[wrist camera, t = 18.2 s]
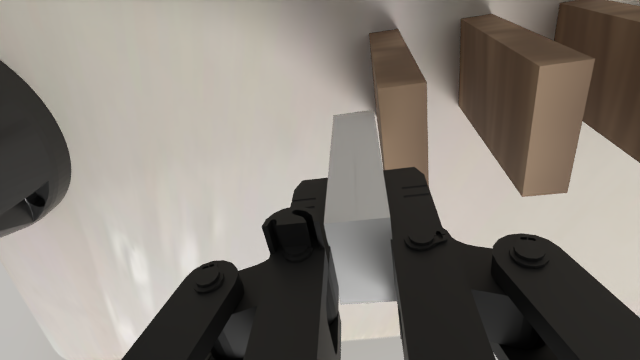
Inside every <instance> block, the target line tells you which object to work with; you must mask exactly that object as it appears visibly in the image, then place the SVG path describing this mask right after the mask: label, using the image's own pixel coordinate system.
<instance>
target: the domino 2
mask: <svg viewBox="0 0 640 360" xmlns="http://www.w3.org/2000/svg"><path fill="white" fill-rule="evenodd" d="M594 62H595V58H592V57H590V56H588V55H585V54H583V53H581V52H578V51H576V50H574V49H572V48H569V47H567V46H565V45H562V44H560V43H558V42H555V41H553V40H551V39H549V38H546V37H544V36H542V35H539V34H537V33H535V32H532V31H530V30H528V29H526V28H523V27H521V26H519V25H516V24H514V23H512V22H509V21H507V20H505V19H502V18H500V17H498V16H496V15H493V14H488V15H482V16H475V17H469V18H463V19H461V36H460V73H459V107H460V108H461V110H462V111H463V113H464V114H465V115H466V117H467V118H468V120H469V121H470V123H471V124H472V126H473V127H474V128H475V130H476V131H477V133H478V134H479V136H480V137H481V138H482V140H483V141H484V143H485V144H486V146H487V147H488V148H489V150H490V151H491V153H492V154H493V156H494V157H495V158H496V160H497V161H498V163H499V164H500V166H501V167H502V169H503V170H504V171H505V173H506V174H507V176H508V177H509V179H510V180H511V181H512V183H513V184H514V186H515V187H516V189H517V190H518V191H519V193H520V194H521V196H522V197H525V196H536V195H547V194H558V193H567V191H568V187H569V182H570V177H571V172H572V168H573V163H574V158H575V153H576V148H577V144H578V139H579V134H580V129H581V124H582V120H583V115H584V110H585V105H586V100H587V96H588V91H589V86H590V81H591V76H592V72H593V67H594Z"/></svg>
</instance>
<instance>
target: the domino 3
mask: <svg viewBox="0 0 640 360" xmlns="http://www.w3.org/2000/svg"><path fill="white" fill-rule="evenodd" d="M554 41H555V42H558V43H560V44H562V45H565V46H567V47H569V48H572V49H574V50H576V51H578V52H581V53H583V54H585V55H588V56H590V57H592V58H595V62H594V67H593V72H592V76H591V81H590V86H589V91H588V96H587V100H586V105H585V110H584V115H583V120H582V121H583V122H584V123H586V124H587V125H589V126H590V127H591V128H593V129H594V130H595V131H597V132H598V133H600V134H601V135H602V136H604V137H605V138H606V139H608V140H609V141H611V142H612V143H613V144H615V145H616V146H617V147H619V148H620V149H622V150H623V151H624V152H626V153H627V154H628V155H630V156H631V157H633V158H634V159H635V160H637V161H638V162H639V163H640V6H636V5H630V4H625V3H620V2H614V1H609V0H575V1H569V2H563V3H560V5H559V12H558V18H557V25H556V32H555V38H554Z"/></svg>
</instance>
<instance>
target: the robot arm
mask: <svg viewBox="0 0 640 360" xmlns="http://www.w3.org/2000/svg"><path fill="white" fill-rule="evenodd" d="M70 179H71V162H70V156H69V151H68V148H67V144H66V142H65V139H64V136H63V134H62V132H61V130H60V128H59V126H58V124H57V122H56V121H55V119H54V117H53V116H52V114H51V112H50V111H49V110H48V108H47V107H46V105H45V104H44V103H43V101H42V100H41V99H40V98H39V96H38V95H37V94H36V93H35V92H34V91H33V90H32V88H31V87H30V86H29V85H28V84H27V83H26V82H25V81H24V80H23V79H22V78H21V77H20V76H18V75H17V74H16V73H15V72H14V71H13V70H12V69H10V68H9V67H8V66H7V65H6V64H4V63H3V62H2V61H0V238H1V237H3V236H6V235H8V234H11V233H13V232H16V231H18V230H21V229H23V228H26V227H28V226H30V225H32V224H34V223H36V222H37V221H39V220H40V219H42V218H43V217H44V216H45V215H46V214H48V213H49V212H50V211H51V210H52V209H53V208H55V207H56V206H57V205H58V204H59V203H60V202H61V201H62V199H63V198H64V196H65V194H66V193H67V190H68V188H69V184H70ZM262 229H263V232H264V235H265V238H266V242H267V245H268V248H269V251H270V257H269V259H268V260H266V261H264V262H263V263H260V264H258V265H255V266H252V267H249V268H246V269H243V270H240V271H238V270H237V268H236V267H235V266H234V265H233V264H232V263H231V262H227V261H224V260H222V261H212V262H209V263H206V264H203V265H201V266H200V267H198V268H196V269H195V270H193V271H192V272H191V273H190V274H189V275H188V276H187V277H186V278H185V279H184V280H183V282H182V283H181V284H180V286H179V287H178V288H177V289H176V291H175V292H174V293H173V295H172V296H171V297H170V298H169V300H168V301H167V302H166V303H165V305H164V306H163V307H162V309H161V310H160V311H159V312H158V314H157V315H156V316H155V318H154V319H153V320H152V321H151V323H150V324H149V325H148V326H147V328H146V329H145V330H144V332H143V333H142V334H141V335H140V337H139V338H138V339H137V340H136V342H135V343H134V344H133V346H132V347H131V348H130V349H129V351H128V352H127V353H126V355H125V356H124V357H123V358H122V360H340V358H341V320H340V315H339V311H338V301H339V299H340V304H341V305H342V304H358V303H374V302H390V301H397V304H398V314H399V324H400V335H401V339H402V345H403V352H404V360H496V359H495V356H494V354H495V355H496V357H497V358H498V360H640V318H639V317H638V316H637V315H636V314H635V313H634V312H632V311H631V310H630V309H629V308H628V307H627V306H626V305H625V304H623V303H622V302H621V301H620V300H619V299H618V298H617V297H615V296H614V295H613V294H612V293H611V292H610V291H609V290H608V289H606V288H605V287H604V286H603V285H602V284H601V283H600V282H598V281H597V280H596V279H595V278H594V277H593V276H592V275H591V274H589V273H588V272H587V271H586V270H585V269H584V268H583V267H581V266H580V265H579V264H578V263H577V262H576V261H575V260H574V259H572V258H571V257H570V256H569V255H568V254H567V253H566V252H564V251H563V250H562V249H561V248H560V247H559V246H557V245H555V244H554V243H552V242H551V241H549V240H547V239H544V238H542V237H539V236H536V235H529V234H512V235H507V236H505V237H503V238H500V239H499V240H498V241H497V242H496V243H495V244H494V245H493V249H492V248H485V247H477V246H472V245H467V244H464V243H461V242H459V241H456V240H455V239H453V238H452V237H451V236H450V234H449V233H448V231H447V230H445V229H444V228H443V227H442V225H441V222H440V219H439V216H438V213H437V210H436V208H435V205H434V202H433V199H432V196H431V193H430V190H429V187H428V184H427V181H426V178H425V175H424V174H423V173H422V172H420V171H419V170H418V169H417V168H415V167H408V168H399V169H390V170H383V168H382V161H381V155H380V148H379V142H378V136H377V129H376V123H375V117H374V110H369V111H362V112H354V113H347V114H340V115H334V117H333V128H332V139H331V150H330V161H329V172H328V178H321V179H312V180H304V181H302V182H301V183H300V184H299V185H298V187H297V188H296V189H295V190H294V194H293V198H292V203H291V207H290V208H286V209H282V210H280V211H278V212H276V213H274V214H272V215H271V216H270V217H269V218H267V219H266V220H265V222H264V224H263V225H262ZM493 352H494V354H493Z"/></svg>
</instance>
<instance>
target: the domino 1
mask: <svg viewBox="0 0 640 360" xmlns="http://www.w3.org/2000/svg"><path fill="white" fill-rule="evenodd" d="M369 38H370V49H371V60H372V70H373V81H374V92H375V103H376V114H377V122H378V130H379V138H380V146H381V154H382V162H383V170H390V169H399V168H408V167H415V168H417V169H418V170H419V171H420V172H422V173H423V174H424V175H425V178H426V181H427V184H428V187H429V182H428V130H427V82H426V80H425V78H424V76H423V75H422V73H421V71H420V69H419V67H418V65H417V64H416V62H415V60H414V58H413V56H412V54H411V52H410V51H409V49H408V47H407V45H406V43H405V41H404V40H403V38H402V36H401V34H400V32H399V30H398V29H394V30H388V31H382V32H376V33H369Z"/></svg>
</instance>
